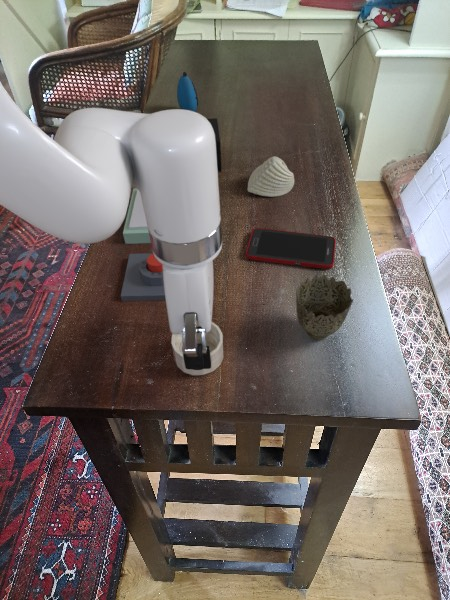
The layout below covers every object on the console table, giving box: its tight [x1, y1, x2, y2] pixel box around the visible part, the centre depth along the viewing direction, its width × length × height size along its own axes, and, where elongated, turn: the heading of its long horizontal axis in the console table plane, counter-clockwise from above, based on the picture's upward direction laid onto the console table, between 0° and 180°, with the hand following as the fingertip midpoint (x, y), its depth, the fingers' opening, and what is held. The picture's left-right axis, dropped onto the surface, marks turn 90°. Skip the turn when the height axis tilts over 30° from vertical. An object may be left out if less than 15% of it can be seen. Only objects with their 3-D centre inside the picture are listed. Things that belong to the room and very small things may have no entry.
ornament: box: [176, 71, 199, 112], centre depth 112 cm, size 8×5×10 cm, turn 22°
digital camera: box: [206, 117, 222, 173], centre depth 98 cm, size 10×5×7 cm, turn 4°
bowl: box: [170, 321, 224, 376], centre depth 62 cm, size 7×7×4 cm
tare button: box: [147, 254, 163, 273], centre depth 72 cm, size 3×3×2 cm
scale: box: [122, 187, 151, 245], centre depth 85 cm, size 14×14×3 cm
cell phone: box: [245, 227, 337, 270], centre depth 78 cm, size 8×15×1 cm, turn 78°
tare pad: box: [120, 252, 166, 302], centre depth 74 cm, size 11×10×3 cm
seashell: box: [247, 155, 295, 198], centre depth 90 cm, size 8×8×8 cm
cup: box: [295, 274, 354, 341], centre depth 63 cm, size 8×7×8 cm
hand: (199, 336), depth 60 cm, fingers open, 9 cm apart
